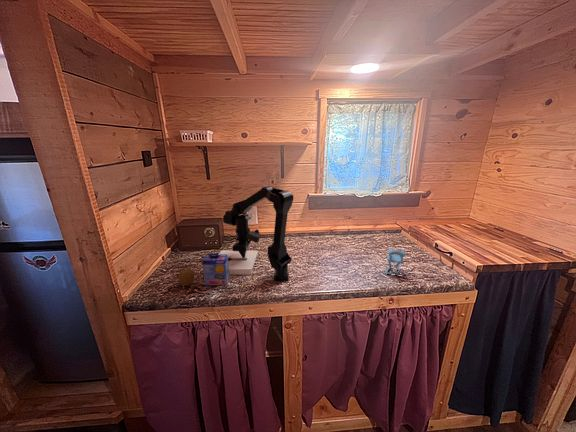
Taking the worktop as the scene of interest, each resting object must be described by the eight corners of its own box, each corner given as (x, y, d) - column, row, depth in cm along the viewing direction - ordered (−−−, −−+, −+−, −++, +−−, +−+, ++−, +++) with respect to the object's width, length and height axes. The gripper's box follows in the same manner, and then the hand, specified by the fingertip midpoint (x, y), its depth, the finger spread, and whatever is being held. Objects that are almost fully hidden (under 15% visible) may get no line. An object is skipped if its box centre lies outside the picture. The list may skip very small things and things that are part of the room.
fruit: (197, 281, 101) (195, 265, 99) (191, 289, 95) (189, 272, 93) (184, 281, 101) (181, 264, 99) (176, 289, 95) (174, 272, 93)
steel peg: (248, 265, 114) (247, 249, 111) (239, 265, 114) (238, 249, 111) (249, 261, 118) (248, 245, 115) (241, 261, 118) (240, 245, 115)
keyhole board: (251, 274, 106) (251, 269, 105) (208, 274, 106) (208, 268, 106) (258, 255, 125) (257, 250, 124) (221, 255, 126) (221, 250, 125)
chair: (401, 268, 111) (404, 246, 108) (403, 277, 103) (407, 253, 100) (384, 266, 113) (387, 243, 110) (385, 274, 106) (388, 250, 103)
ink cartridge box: (204, 286, 97) (200, 255, 93) (207, 279, 103) (204, 249, 99) (227, 285, 98) (224, 254, 94) (229, 278, 103) (227, 248, 99)
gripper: (255, 234, 101) (257, 265, 105) (261, 221, 119) (262, 248, 123) (230, 234, 101) (233, 265, 106) (240, 221, 119) (242, 248, 124)
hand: (244, 256), depth 115 cm, fingers closed on steel peg, 2 cm apart
